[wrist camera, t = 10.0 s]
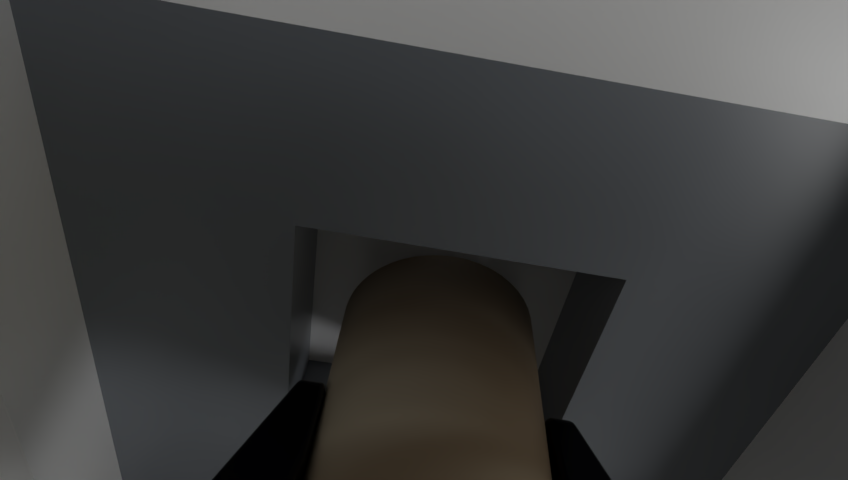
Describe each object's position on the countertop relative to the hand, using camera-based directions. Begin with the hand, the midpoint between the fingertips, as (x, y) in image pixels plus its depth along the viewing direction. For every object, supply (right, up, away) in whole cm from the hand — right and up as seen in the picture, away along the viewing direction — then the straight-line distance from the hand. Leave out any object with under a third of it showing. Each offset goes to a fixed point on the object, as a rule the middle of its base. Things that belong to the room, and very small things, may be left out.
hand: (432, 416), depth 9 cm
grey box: (0, +2, +3) cm, 4 cm away
